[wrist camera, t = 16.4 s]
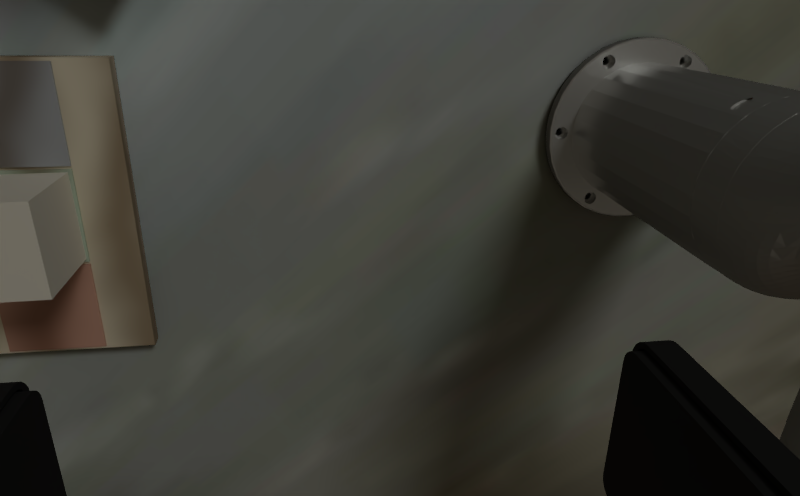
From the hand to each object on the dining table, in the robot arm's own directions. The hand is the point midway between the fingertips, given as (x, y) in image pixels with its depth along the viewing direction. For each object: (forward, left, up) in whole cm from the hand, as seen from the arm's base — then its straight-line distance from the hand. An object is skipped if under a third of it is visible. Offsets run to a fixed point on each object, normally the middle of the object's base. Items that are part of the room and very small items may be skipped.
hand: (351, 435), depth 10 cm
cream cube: (+19, +7, -32) cm, 38 cm away
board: (+19, +7, -33) cm, 39 cm away
